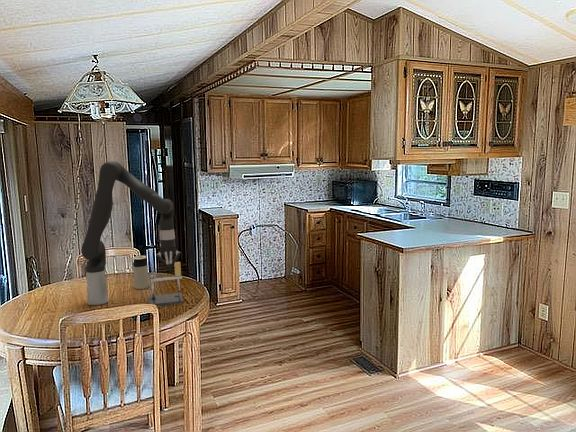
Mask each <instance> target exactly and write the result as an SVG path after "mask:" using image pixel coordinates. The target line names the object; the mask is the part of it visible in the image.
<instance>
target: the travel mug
mask: <svg viewBox="0 0 576 432" xmlns="http://www.w3.org/2000/svg"><path fill="white" fill-rule="evenodd" d="M132 259H133V262H132V269H133V271H132V272H133V283H134V284H133V285H134V289H136V290H143V289H147V288H149V287H150V281H149V280H150V277H149V266H148V260H147V255H137V256H133V257H132Z"/></svg>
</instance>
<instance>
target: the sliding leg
mask: <svg viewBox="0 0 576 432" xmlns="http://www.w3.org/2000/svg"><path fill="white" fill-rule="evenodd" d="M173 265H174V275H175V276H176V277H177V276H182V268H181V261H176V262H175V263H173ZM176 281H177V293H178V295H180V293H181V285H180V283H181V282H180V279H176Z"/></svg>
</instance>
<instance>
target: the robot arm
mask: <svg viewBox="0 0 576 432" xmlns="http://www.w3.org/2000/svg"><path fill="white" fill-rule="evenodd" d="M98 173H99V174H98V182H97V189H96V193H95V196H94V200H93V204H92V208H91V212H90V218H89V221H88V222H89V223H88V226H87V230H86V233H85V237H84V239H83V240H84V241H83V242H82V245H81V249H80V250H81V255H82V257H83V259H85V260H87V264H86V266H85V275H86V285H87V286H86V295H87V305H88V306H98V305H99V306H100V305H104V304H106V303H108V301H109V297H108V287H107V276H106V263H107V257H106V256H107V255H106V254H107V253H106V252H107V251H106V246H105V243H104V242H103V240H101V239H102V235H103V232H104V231H105V229H106V227H107V226H108V224H109V221H110V219H111V216H112V211H113V206H114V201H113V200H114V199H113V189H114V186H115V183H116V181H118V182H120V183H122V184H123V185H125V186H126V187H128V189H130V191H131V192H132V193H134V194H135V195H136V196H137V197H138V198H140V199H141V200H143V201H144V202H145V203H147V204H149V206H151V207H152V208H153V209H154V210H155V211H156V212H158V213H160V218H159V223H158V224H159V225H158V226H159V246H160V248H159V252H158V253H156V254H155V257H156V258H157V259H158V260H159V261H160V262H161V263H162V264H165V265H166V267H165V268H166V270H167V271H168V272H171V271H172V270H173V264H174V263H175V262H177V260H178V259H179V258H180V256H181V255H182V253H181V251H178V249H177V248H176V235H175V233H176V232H175V227H174V226H175V224H174V215H175V214H174V212H175V211H174V210H175V207H174V202H173V201H172V200H171V199H170V198H163V197H161V196H160V195H159V193H158V192H157V191H156V190H154V189H153V188H151V187H150V186H149V185H147V184H146V183H144V182H142V181H141V180H139V179H138V178H136V176H134V175H133V174H132V173H130V171H128V170H127V169H126V168H125V167H124V166H123V165H122V164H121V163H119V162H118V161H115V160H111V161H105V162H104V163H103V164H101V166H100V168H99V172H98ZM162 256H163V257H162ZM173 257H174V258H173ZM164 258H165V259H164Z"/></svg>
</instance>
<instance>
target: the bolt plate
mask: <svg viewBox="0 0 576 432" xmlns="http://www.w3.org/2000/svg"><path fill="white" fill-rule="evenodd" d="M148 277H149V280H150V282H151V283H150V284H151V286H150V287H151V295H148V303H147V305H148V304H155V305H157V307H164V306H172V305H182V304H184V299H183V293H182V292H180V295H178V292H174V293H165V294H156V295H155V285H154V284H155V282H161V281H171V280H177V279H179V280H182V279H183V275H180V276H177V277H176V275H175V276H166V277H165V276H164V277H157V278H156V277H155V274H148Z"/></svg>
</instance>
